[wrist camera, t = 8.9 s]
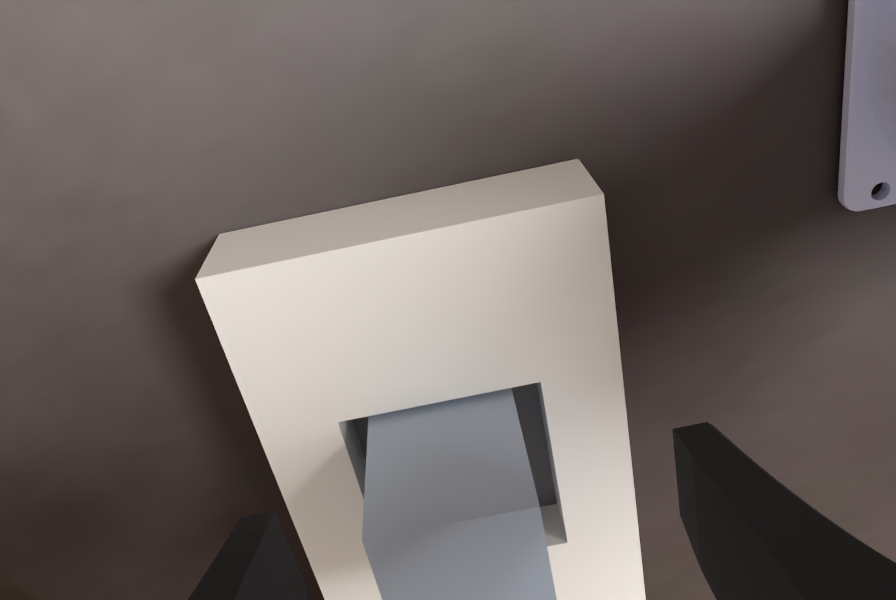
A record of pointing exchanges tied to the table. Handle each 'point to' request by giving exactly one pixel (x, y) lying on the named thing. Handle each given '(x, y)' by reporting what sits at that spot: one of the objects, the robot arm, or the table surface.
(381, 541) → the plug
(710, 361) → the table surface
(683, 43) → the table surface
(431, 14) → the table surface
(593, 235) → the power strip
